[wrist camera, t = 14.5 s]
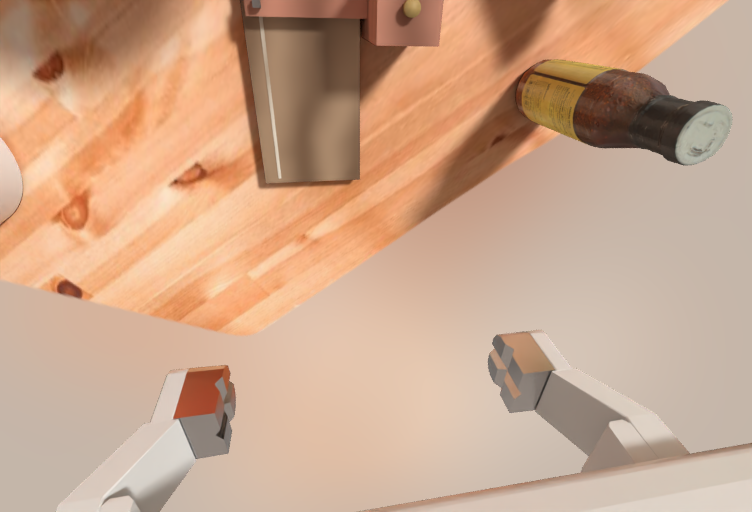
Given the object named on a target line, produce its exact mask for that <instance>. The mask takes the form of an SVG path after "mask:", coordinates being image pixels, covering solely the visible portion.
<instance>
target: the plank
mask: <svg viewBox="0 0 752 512" xmlns="http://www.w3.org/2000/svg"><path fill="white" fill-rule="evenodd" d="M240 3H241V10H242V17H243V24H244V31H245V39H246V46H247V53H248V60H249V67H250V74H251V81H252V88H253V95H254V102H255V109H256V116H257V123H258V130H259V137H260V144H261V151H262V158H263V165H264V173H265V180H266V183H286V182H310V181H334V180H358V179H360V19H350V18H305V17H260V16H246V15H245V7H244V0H240Z"/></svg>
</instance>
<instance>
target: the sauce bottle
mask: <svg viewBox="0 0 752 512" xmlns="http://www.w3.org/2000/svg"><path fill="white" fill-rule="evenodd" d="M516 104H517V106H518V109H519V110H520V112H521V113H522V114H523V116H525V117H527V118H529V119H530V120H531V121H533V122H535V123H537V124H540V125H542V126H544V127H547V128H549V129H552V130H554V131H556V132H559V133H561V134H564V135H566V136H568V137H571V138H573V139H575V140H578V141H581V142H583V143H585V144H588V145H590V146H594V147H598V148H641V149H648V150H650V151H652V152H656V153H659V154H661V155H663V157H664V158H665V159H667V160H668V161H671V162H674V163H678V164H681V165H694V164H697V163H700V162H702V161H705V160H706V159H707V158H709V157H711V156H713V155H714V154H715V153H716V152H717V151H718V150H719V149H720V148H721V147H722V145H723V143H724V142H725V140H726V138H727V136H728V134H729V132H730V128H731V125H732V113H731V112H730V110H729V109H728V108H727V107H726V106H724V105H721V104H717V103H714V102H710V101H697V102H692V101H686V100H683V99H678V98H676V97H674V96H671V95H669V92H668V90H667V89H666V86H665V85H663V84H662V83H661V82H659V81H658V80H656V79H654V78H652V77H651V76H648V75H646V74H641V73H635V72H628V71H626V70H623V69H618V68H611V67H605V66H599V65H593V64H587V63H579V62H573V61H566V60H558V59H556V60H544V61H541V62H539V63H537V64H535V65H534V66H532V67H531V68H530V69H529V70H528V71H526V72H525V73H524V75H523V76H522V78H521V80H520V82H519V84H518V88H517V91H516Z"/></svg>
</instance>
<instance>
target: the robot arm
mask: <svg viewBox="0 0 752 512" xmlns="http://www.w3.org/2000/svg"><path fill="white" fill-rule="evenodd" d="M22 192H23V183H22V177H21V173H20V169H19V167H18V164H17V162H16V160H15V158H14V156H13V154H12V153H11V151H10V149H9V148H8V147H7V145H6V144H5V142H4V141H3V140H2V139H1V137H0V224H1V223H2V222H3V221H5V220H6V219H7V218H9V217H10V216H11V215H12V214H13V213H14V212H15V210H16V209H17V207H18V205H19V203H20V201H21V198H22ZM492 344H493V346H494V348H495V349H494V350H493V351H492V352H490V354H489V358H488V369H489V372H490V376H491V378H492V380H493V382H494V383H495V384H496V385H498V386H499V387H501V388H502V389H501V393H500V396H501V397H502V399H503V401H504V403H505V405H506V407H507V409H508V411H509V413H514V412H523V411H532V410H536V412H537V413H538V414H539V415H540V416H541V417H542V418H544V419H545V420H546V421H547V422H548V423H550V424H551V425H552V426H553V427H554V428H556V429H557V430H558V431H559V432H560V433H562V434H563V435H564V436H565V437H566V438H568V439H569V440H570V441H571V442H572V443H574V444H575V445H576V446H577V447H578V448H579V449H581V450H582V451H583V452H584V453H585V454H587V455H588V456H589V457H588V459H587V461H586V462H585V464H584V466H583V467H582V470H581V473H577V474H571V475H565V476H559V477H553V478H548V479H542V480H536V481H531V482H525V483H519V484H513V485H508V486H502V487H497V488H490V489H485V490H480V491H473V492H467V493H462V494H456V495H450V496H444V497H439V498H433V499H427V500H421V501H416V502H410V503H404V504H398V505H393V506H387V507H381V508H376V509H370V510H364V511H358V512H752V443H748V444H743V445H737V446H731V447H725V448H720V449H714V450H709V451H703V452H697V453H692V454H690V453H689V452H688V451H687V450H686V448H685V447H684V446H683V445H682V444H681V442H680V441H679V440H678V439H677V438H676V437H675V435H674V434H673V433H672V432H671V431H670V430H669V429H668V428H667V426H666V425H665V424H664V423H663V422H662V421H661V419H660V418H659V417H658V416H657V415H656V414H655V413H654V412H652V411H650V410H648V409H647V408H645V407H643V406H642V405H640V404H638V403H636V402H635V401H633V400H631V399H629V398H628V397H626V396H624V395H622V394H621V393H619V392H617V391H615V390H614V389H612V388H610V387H608V386H607V385H605V384H603V383H602V382H600V381H598V380H596V379H595V378H593V377H591V376H589V375H587V374H586V373H584V372H583V371H581V370H579V369H577V368H571V366H570V365H569V364H568V362H567V361H566V360H565V358H564V357H563V356H562V354H561V353H560V352H559V350H558V349H557V348H556V347H555V345H554V344H553V343H552V341H551V340H550V338H549V337H548V336H547V335H546V333H545V332H544V331H542V330H534V331H526V332H516V333H508V334H499V335H496V336H495V337H494V339H493V342H492ZM229 379H230V371H229V367H228V366H227V365H221V366H210V367H198V368H189V369H179V370H171V371H170V372H169V373H168V374H167V376H166V379H165V382H164V384H163V387H162V390H161V393H160V396H159V399H158V402H157V404H156V407H155V410H154V413H153V416H152V418H151V421H150V423H144V424H143V425H142V426H141V427H140V428H139V429H138V430H137V431H136V432H135V433H134V434H133V435H131V436H130V437H129V438H128V439H127V440H126V441H125V442H124V443H123V444H122V445H121V446H120V447H119V448H118V449H117V450H116V451H115V452H114V453H113V454H112V455H111V456H109V457H108V458H107V459H106V460H105V461H104V462H103V463H102V464H101V465H100V466H99V467H98V468H97V469H96V470H95V471H94V472H93V473H92V474H91V475H89V476H88V477H87V478H86V479H85V480H84V481H83V482H82V483H81V484H80V485H79V486H78V487H77V488H76V489H75V490H74V491H73V492H72V493H71V494H69V495H68V496H67V497H66V498H65V499H64V500H63V501H62V502H61V503H60V504H59V506H58V508H57V510H56V512H160V510H161V509H162V507H163V506H164V505H165V503H166V502H167V501H168V499H169V498H170V496H171V495H172V493H173V492H174V491H175V489H176V488H177V487H178V485H179V484H180V483H181V481H182V480H183V478H184V477H185V476H186V474H187V473H188V472H189V470H190V469H191V467H192V466H193V465H194V463H195V462H196V459H198V458H204V457H210V456H216V455H222V454H228V452H229V447H230V441H231V434H232V429H231V426H230V423H229V422H230V421H231V420H232V418H233V417H234V415H235V407H236V396H235V388H234V384H233V383H232V382H230V381H229Z"/></svg>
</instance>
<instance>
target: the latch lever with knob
mask: <svg viewBox="0 0 752 512" xmlns="http://www.w3.org/2000/svg"><path fill="white" fill-rule="evenodd" d="M244 7H245V15H246V16H260V17H305V18H350V19H362V38H364V39H366V40H367V41H369V42H371V43H373V44H374V45H376V46H439V40H440V30H441V20H442V10H443V0H244Z"/></svg>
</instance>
